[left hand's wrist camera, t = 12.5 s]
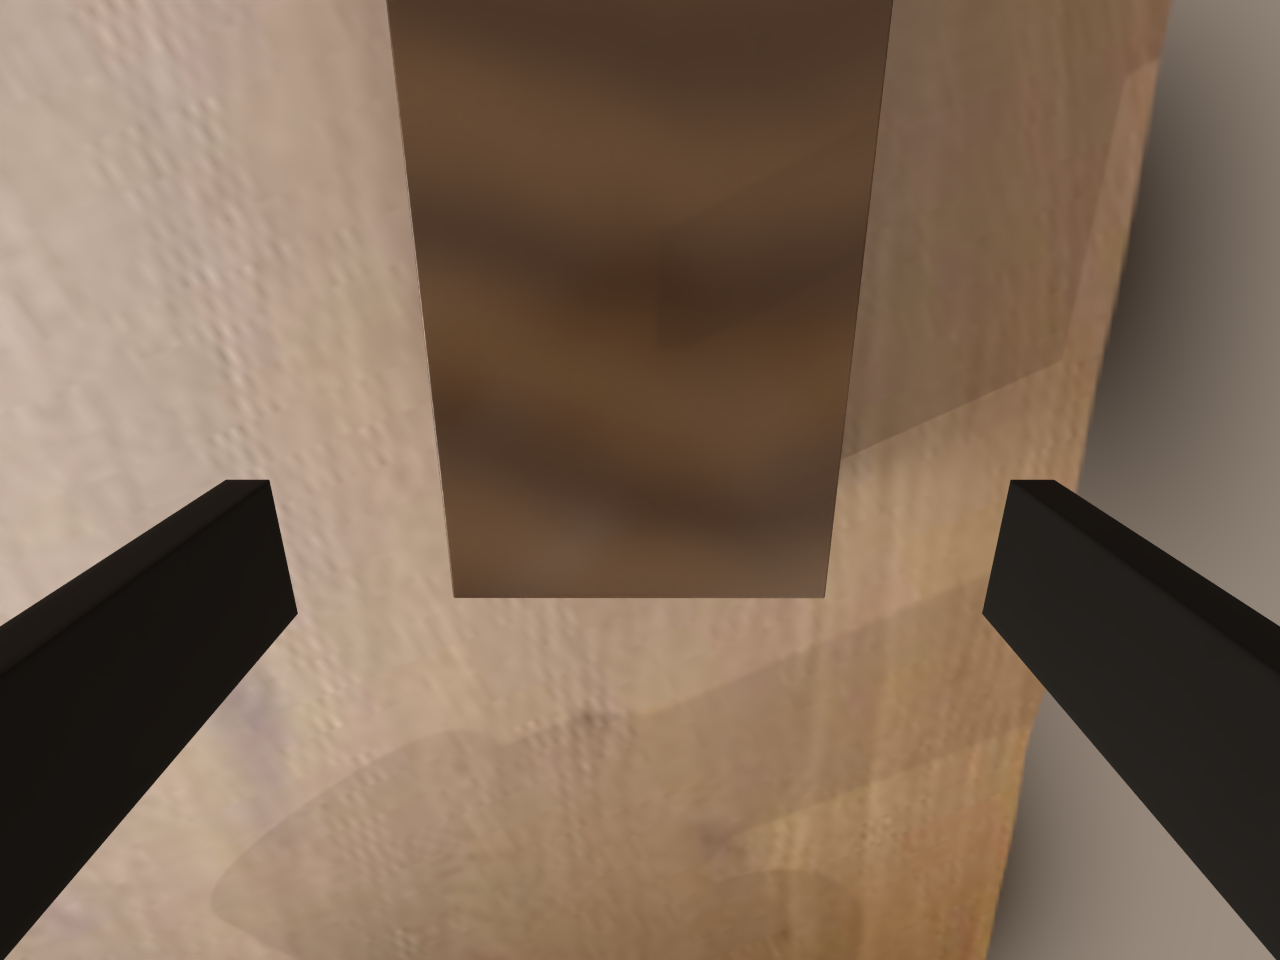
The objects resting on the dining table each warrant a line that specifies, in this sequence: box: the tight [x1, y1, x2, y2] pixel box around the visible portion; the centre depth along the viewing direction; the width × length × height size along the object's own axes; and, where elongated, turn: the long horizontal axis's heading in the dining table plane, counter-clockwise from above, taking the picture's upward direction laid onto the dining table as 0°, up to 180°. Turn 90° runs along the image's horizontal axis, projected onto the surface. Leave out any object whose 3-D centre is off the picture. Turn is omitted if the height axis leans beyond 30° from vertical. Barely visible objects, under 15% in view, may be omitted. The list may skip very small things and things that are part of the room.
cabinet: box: [386, 0, 893, 598], centre depth 20 cm, size 19×11×8 cm, turn 0°
